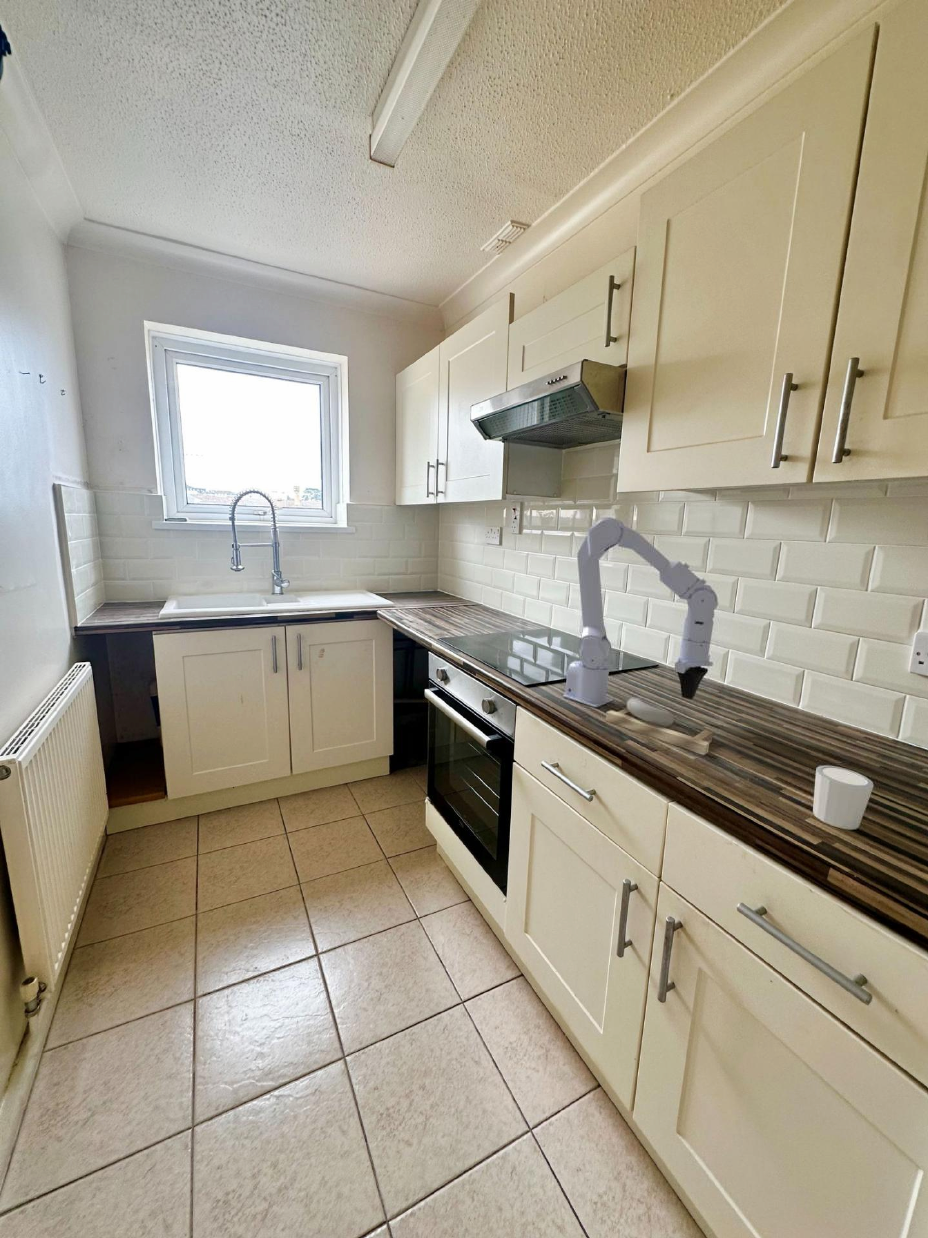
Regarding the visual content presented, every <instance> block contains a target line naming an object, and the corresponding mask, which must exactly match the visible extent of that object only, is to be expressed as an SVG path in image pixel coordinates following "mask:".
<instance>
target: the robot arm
mask: <svg viewBox="0 0 928 1238" xmlns="http://www.w3.org/2000/svg"><path fill="white" fill-rule="evenodd" d="M615 546H617V547H621V548H624V549H630V550H632V551H634V553H636V554H637V555H638V556H640V557H641V558H642V559H643V560H644V561H646V562H647V563H649V564H650V565H651V566H652V567H653V568H654V569H655V570H657V571H658V572H659V581H660V582H661V583H662V584H664V585H665V586H666V587H667V588H668V589H669V590H670V591H672V593H674V595H676V596H677V597H678V598H680V599H681V600H686V602H687V606H688V607H687V612H686V613H687V614H686V616H685V618H684V625H683V632H682V636H681V637H682V638H681V644H680V652H679V656H678V658H677V661H676V662H675V663H674V669H673V671H674V672H676V673H677V676H678V679H679V683H680V692H681V693H680V694H681V697H682V698H684V699H687V700H693V699H694V698H695V695H696V694H697V691H698V688H699V686H700V684H701V683H702V680H703V679H704V677H705V676H706V675H707V673H708V671H709V669H708V668H706V667H712V666H713V665H714V662H713V661H710V658H711V655H710V654H709V653H710V647H711V641H712V635H713V630H714V629H713V628H714V618H715V610H716V609H717V607H718V605H719V602H718V596H717V593H716V591H715V590H714V589H713V588H712V586H711V585H709V584H707V580H705V579H704V578H702V579H701V578H700V577H698V575H696V574H695V573H694V572H692V571H691V570H690V569H689V568H690V565H689V564H688V563H687V562H684V563H682V562H681V561H680V560H675V561H674V560H673V561H670V560H669V559H668V558H667V557H665V556H664V555H663V554H662V552H660V551H659V550H658V549H657V548H656V547H655V546H654V545H652V543H651V542H649V541H648V540H647V539H646V538H645V537H644V536H643V535H642V534H641V533H639V532H638V531H636V530H635V529H633V528H632V527H630V526H629V525H626V524H624V522H623V521H621V520H620V519H617V518H614V517H610V516H605V517H602V518H600V519H598V520H596V522H595V523H594V524H593V525H592V526H591V527H589V528H588V531H587V534H586V536H585V537H584V540H583V541H582V543H581V545H580V547H579V549H578V552H577V567H578V568H577V569H578V580H579V595H580V605H581V617H582V632H581V644H580V648H579V650H578V657H579V660H573V661H572V662H571V663H569V666H568V667H567V671H566V682H565V692H564V694H563V698H566V699H569V700H572V701H574V702H579V703H581V704H584V705H587V706H590V707H592V708H598V707H600V706H603V705H605V704H609V703H611V702H613V700H614V699H613V698H611V697H609V696H607V690H608V683H609V682H608V681H609V674H610V673H609V670H610V664H609V662H608V660H607V658H608V657H609V656H610V654H611V653H612V643H611V641H610V640H609V638H608V635H607V631H606V627H605V626H606V625H605V623H604V622H605V621H604V620H605V619H604V607H603V596H602V582H601V569H600V560H601V558H603V556H604V555H605V554H606V553H607V552H608V550H610V549H611V548H613V547H615ZM705 666H706V667H705Z"/></svg>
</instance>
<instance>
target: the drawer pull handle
mask: <svg viewBox="0 0 928 1238" xmlns="http://www.w3.org/2000/svg"><path fill="white" fill-rule="evenodd" d="M605 721H606V722H608V723H610V724H614V725H617V726H619V727H623V728H626V729H628V730H630V731H634V732H637V733H640V734H642V735H645V736H647V737H651V738H654V739H657V740H659V741H663V742H665V743H668V744H671V745H674V746H677V747H680V748H682V749H685V750H688V751H690V752H693V753H697V754H699V755H702V756H705V755H706V754H708V753H709V747H710V743H712V741H713V734H714V733H713V732H714V731H710V730H707V729H705V730H702V731H701V732H700V733H697V734H696V735H695V736H694V737H693V736H690V735H687V734H684V733H681V732H678V731H675V730H673V729H669V728H667V727H661V726H658V725H655V724H651V723H649V722H647V721H644V720H642V719H640V718H637V716H635V715H633V714H632V713H631V712H629V710H628V709H627V707H625V708H623V709H622V710H619V711H616V710H611V709H610V710H608V711H606V713H605Z"/></svg>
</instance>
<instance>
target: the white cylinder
mask: <svg viewBox="0 0 928 1238" xmlns="http://www.w3.org/2000/svg"><path fill="white" fill-rule="evenodd" d="M873 788H874V783H873V781H872V780H871V779H870V778H868V777H867V776H865V775H863V774H860V773H859V772H856V771H854V770H851V769H848V768H844V767H840V766H836V765H835V766H834V765H819V766H818V767H816V770H815V781H814V792H813V805H812V806H813V808H812V811H813V812H812V813H813V815H814V816H815V817H816V818H817V819H818V820H820V821H822V822H823V823H825V824H828V825H830V826H832V827H836V828H839V829H843V830H849V831H850V830H857V829H858V828H859V827H860V825H861V822H862V818H863V817H864V814H865V810H866V808H867V806H868V803H869V800H870V797H871V794H872V792H873Z"/></svg>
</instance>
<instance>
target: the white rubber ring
mask: <svg viewBox="0 0 928 1238" xmlns="http://www.w3.org/2000/svg"><path fill="white" fill-rule="evenodd" d="M626 708H627V709H628V710H629V712H631V713H632V714H633V715H635V716H636V718H637V719H639V720H642V721H645V722H648V723H651V724H655V725H658V726H661V727H664V728H667V727H670V726H672V724H673V723H674V716H673V714H672V713H671V711H669V710H667V708H664V707H662V706H660V705H658V704H656V703H653V702H652V701H649V700H646V699H643V698H640V697H631V698H629V699H628V700H627V701H626Z"/></svg>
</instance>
